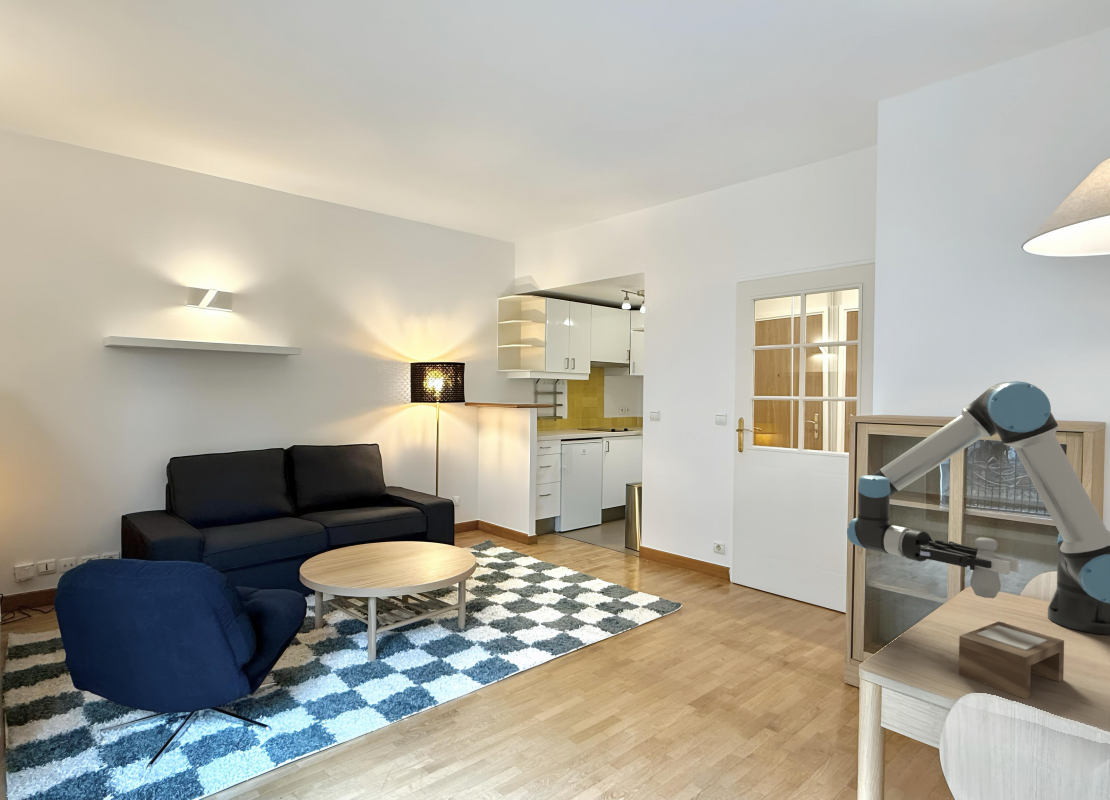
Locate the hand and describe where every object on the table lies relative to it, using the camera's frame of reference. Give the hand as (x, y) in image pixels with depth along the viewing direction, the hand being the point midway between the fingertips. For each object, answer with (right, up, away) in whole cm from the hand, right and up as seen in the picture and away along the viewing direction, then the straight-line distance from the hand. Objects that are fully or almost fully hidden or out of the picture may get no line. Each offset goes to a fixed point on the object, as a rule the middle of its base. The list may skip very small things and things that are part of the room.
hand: (1013, 566), depth 139 cm
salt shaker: (-3, -8, +5) cm, 10 cm away
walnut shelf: (-7, -20, -9) cm, 23 cm away
